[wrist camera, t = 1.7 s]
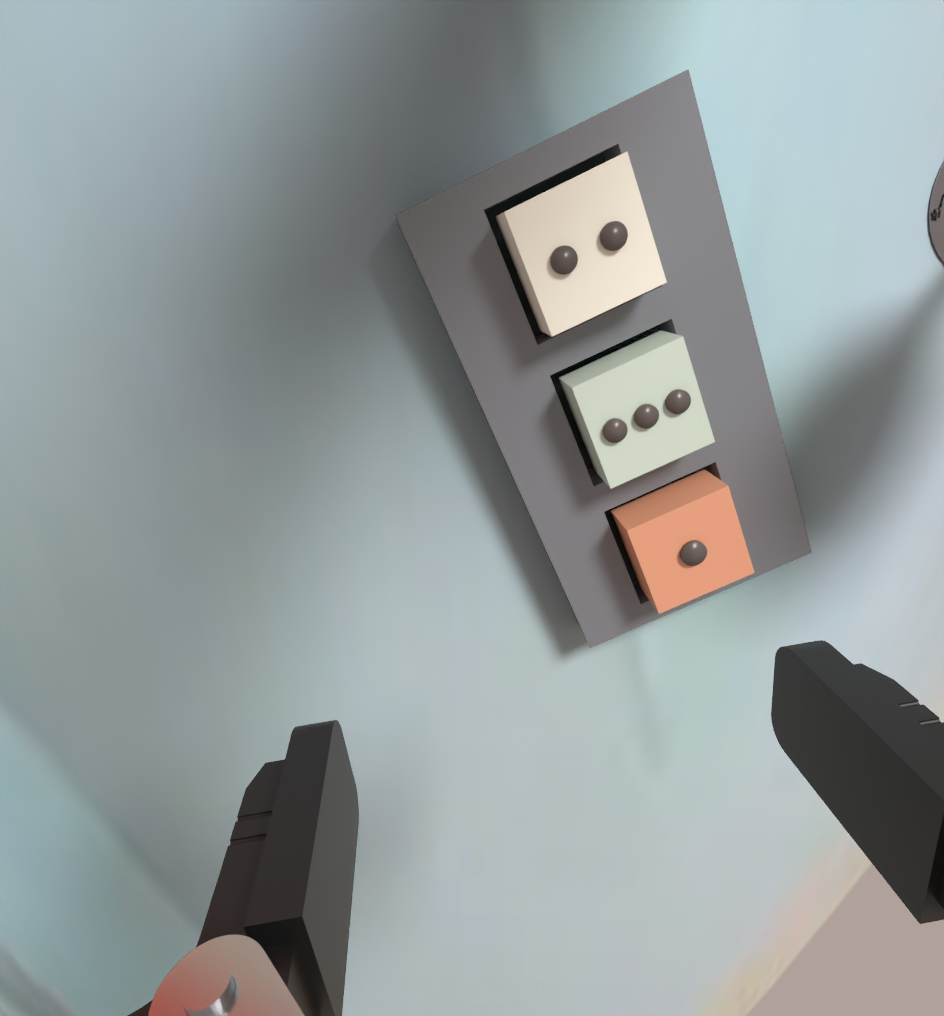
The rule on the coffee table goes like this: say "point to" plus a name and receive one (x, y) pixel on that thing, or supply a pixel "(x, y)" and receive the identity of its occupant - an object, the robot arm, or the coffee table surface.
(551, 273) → the cream button
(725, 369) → the button board
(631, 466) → the sage button
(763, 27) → the coffee table surface
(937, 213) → the wine glass
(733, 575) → the terracotta button
